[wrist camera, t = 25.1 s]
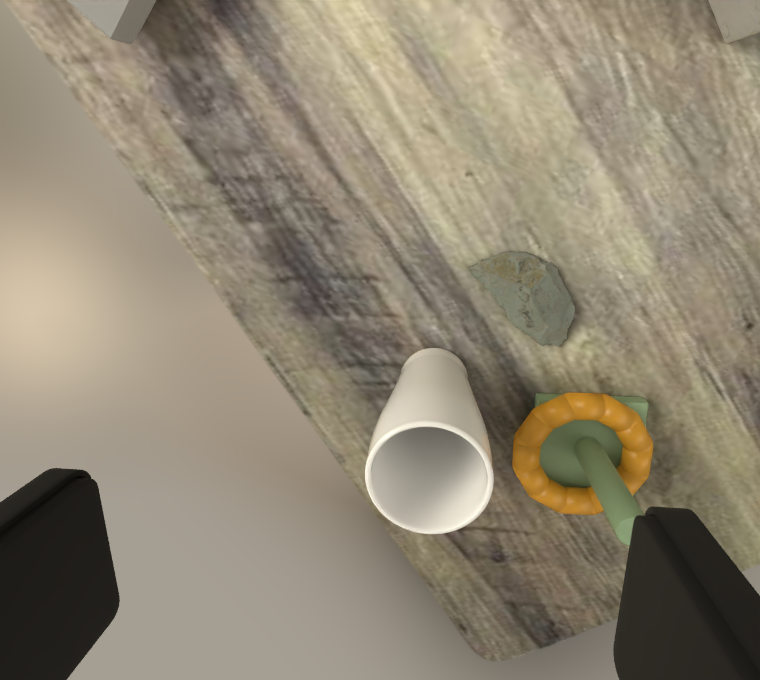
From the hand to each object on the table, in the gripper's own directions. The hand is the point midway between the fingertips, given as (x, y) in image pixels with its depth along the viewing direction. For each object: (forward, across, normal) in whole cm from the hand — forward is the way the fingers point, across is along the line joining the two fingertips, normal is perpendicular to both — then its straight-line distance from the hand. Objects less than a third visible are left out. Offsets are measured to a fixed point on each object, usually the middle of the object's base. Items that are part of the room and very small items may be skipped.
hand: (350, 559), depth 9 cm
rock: (+31, -8, +1) cm, 32 cm away
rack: (+30, -13, +13) cm, 35 cm away
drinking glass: (+31, -1, +8) cm, 32 cm away
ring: (+28, -12, +13) cm, 33 cm away
